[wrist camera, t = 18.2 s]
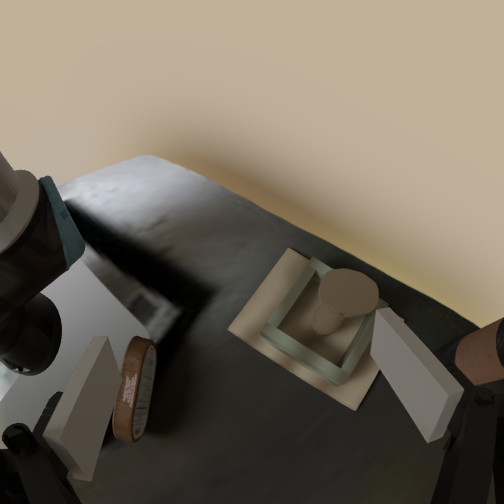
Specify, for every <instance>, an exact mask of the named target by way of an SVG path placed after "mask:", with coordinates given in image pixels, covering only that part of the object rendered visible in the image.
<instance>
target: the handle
mask: <svg viewBox="0 0 504 504" xmlns="http://www.w3.org/2000/svg"><path fill="white" fill-rule="evenodd" d="M318 296H319V300H320V303H321V304H320V305H319V306H318V308H317V309H316V311H315V313H314V315H313V318H312V325H311V330H313V331H314V332H315V333H316V334H317V336H319V337H322V336H324V335H329V334H331V333H333V332H335V331H336V330H338V329H339V328H340V327H341V326H342V325H343V323H344V322H345V321H346V319H347V318H354V317H360V316H364V315H368V314H370V313H371V312H372V311H373V310H374V309H375V307H376V305H377V303H378V298H379V292H378V287H377V285H376V283H375V282H374V281H373V280H371V279H370V278H369V277H367V276H366V275H365V274H363V273H361V272H358V271H354V270H350V269H335V270H330V271H328V272H326V273H325V275H324V276H323V278H322V280H321V282H320V285H319V290H318Z"/></svg>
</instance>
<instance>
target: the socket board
mask: <svg viewBox="0 0 504 504" xmlns="http://www.w3.org/2000/svg"><path fill="white" fill-rule="evenodd" d="M330 270H334V269H332V268H330V267H329V266H327V265H326V264H324V263H322V262H321V261H319V260H317V259H316V258H314V257H312V258H311V259H310V260H308V259H306V258H305V257H303V256H301V255H300V254H298V253H296V252H295V251H293V250H292V249H290V248H288V249H287V250H286V251H285V253H284V254H283V256H282V257H281V258H280V260H279V261H278V262H277V264H276V265H275V266H274V268H273V269H272V270H271V272H270V273H269V275H268V276H267V277H266V279H265V280H264V281H263V283H262V284H261V285H260V287H259V288H258V289H257V291H256V292H255V293H254V295H253V296H252V297H251V299H250V300H249V301H248V303H247V304H246V305H245V307H244V308H243V309H242V311H241V312H240V313H239V315H238V316H237V317H236V319H235V320H234V321H233V322H232V324H231V325H230V326H229V328H228V330H229V331H230V332H231V333H233V334H234V335H236V336H237V337H239V338H240V339H242V340H243V341H244V342H246V343H247V344H249V345H250V346H252V347H253V348H255V349H256V350H258V351H259V352H261V353H262V354H264V355H265V356H267V357H268V358H270V359H271V360H273V361H274V362H276V363H277V364H279V365H280V366H282V367H284V368H285V369H287V370H288V371H290V372H291V373H293V374H294V375H296V376H298V377H299V378H301V379H302V380H304V381H306V382H307V383H309V384H310V385H312V386H314V387H315V388H317V389H318V390H320V391H322V392H323V393H325V394H327V395H328V396H330V397H332V398H333V399H335V400H337V401H338V402H340V403H342V404H343V405H345V406H347V407H349V408H350V409H352V410H354V411H356V409H357V408H358V406H359V404H360V403H361V401H362V399H363V398H364V396H365V394H366V393H367V391H368V389H369V387H370V386H371V384H372V382H373V380H374V379H375V377H376V375H377V373H378V371H379V370H380V368H379V367H378V365H377V364H376V362H375V361H374V359H373V358H372V356H371V355H370V351H371V345H372V338H373V331H374V323H375V315H376V310H377V309H382V308H387V307H388V305H389V304H388V303H387V302H385V301H383V300H382V299H380V298H378V303H377V305H376V307H375V309H374V310H373V311H372V312H371V313H370V314H368V315H364V316H360V317H354V318H347V319H346V321H345V322H344V323H343V325H342V326H341V327H340V328H339V329H338V330H336V331H335V332H333V333H331V334H329V335H324V336H322V337H319V336H317V334H316V333H315V332H314V331H313V330H311V325H312V318H313V315H314V313H315V311H316V309H317V308H318V306H319V305H320V304H321V303H320V300H319V296H318V290H319V285H320V282H321V280H322V278H323V276H324V275H325V273H326V272H328V271H330ZM397 316H398V315H397ZM398 317H399V316H398ZM399 318H400V319H401V320H402V321H403V322H404V319H402V318H401V317H399Z"/></svg>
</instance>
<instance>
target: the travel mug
mask: <svg viewBox="0 0 504 504" xmlns="http://www.w3.org/2000/svg"><path fill="white" fill-rule="evenodd" d="M437 351H439V352H441V353H443V354H445V355H446V356H448V357H449V358H450V359H451V360H452V361H453V363H454V364H455V365H456V366H457V367H458V368H459V370H461V371H462V372H463V373H464V374H465V376H466V377H467V378H468V379H469V380H470V381H471V382H472V383H473V384H474V385H475V386H476V385H480V384H484V383H488V382H492V381H496V380H500V379H503V378H504V318H502V319H499V320H498V321H495V322H493V323H492V324H489V325H487V326H485V327H483V328H481V329H479V330H477V331H475V332H472V333H470V334H468V335H466V336H464V337H462V338H460V339H458V340H456V341H454V342H452V343H450V344H448V345H446V346H444V347H442V348H440V349H439V350H437Z"/></svg>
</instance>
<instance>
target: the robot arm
mask: <svg viewBox="0 0 504 504" xmlns="http://www.w3.org/2000/svg"><path fill="white" fill-rule="evenodd" d="M84 251H85V243H84V241H83V239H82V237H81V235H80V233H79V231H78V230H77V228H76V226H75V224H74V222H73V220H72V218H71V216H70V214H69V213H68V211H67V209H66V207H65V205H64V203H63V201H62V198H61V196H60V194H59V192H58V190H57V188H56V186H55V184H54V182H53V180H52V178H51V177H50V176H45V177H44V178H43V177H42V178H40V179H39V180H37V179H36V177H35V176H34V175H33V174H31V172H29V171H26V170H16V171H14V170H13V169H12V167H11V166H10V164H9V163H8V162H7V160H6V159H5V158H4V156H3V155H2V154H1V152H0V361H1V362H2V363H3V364H4V365H5V366H6V367H7V368H9V369H10V370H12V371H14V372H16V373H19V374H23V375H27V376H33V375H37V374H39V373H41V372H43V371H44V370H46V369H47V368H48V367H49V366H50V365H51V363H52V362H53V361H54V359H55V357H56V355H57V353H58V350H59V347H60V343H61V338H62V337H61V336H62V324H61V318H60V315H59V312H58V310H57V308H56V306H55V305H54V303H53V302H52V301H51V300H50V299H49V298H48V297H46V296H45V295H43V294H42V293H40V292H41V291H42V290H43V289H44V288H45V287H46V286H48V285H49V284H50V283H52V282H53V281H54V280H55V279H56V278H58V277H59V276H60V275H62V274H63V273H64V272H66V271H68V270H69V268H70V266H71V265H72V264H73V263H75V262H76V261H77V260H78V259H79V258H80V257H81V256H82V255H83V253H84ZM370 355H371V356H372V358H373V359H374V361H375V362H376V364H377V365H378V367H379V368H380V370H381V371H382V373H383V374H384V376H385V377H386V379H387V380H388V382H389V383H390V385H391V386H392V388H393V390H394V391H395V393H396V394H397V396H398V397H399V399H400V400H401V402H402V403H403V405H404V407H405V408H406V410H407V411H408V413H409V414H410V416H411V418H412V419H413V421H414V422H415V424H416V426H417V427H418V429H419V430H420V432H421V433H422V435H423V437H424V438H425V440H426V442H427V443H429V442H432V441H434V440H436V439H439V438H441V437H443V435H444V433H445V431H446V429H447V428H448V429H449V431H450V432H451V435H450V437H449V438H448V440H447V442H446V444H445V446H444V448H443V449H444V450H445V449H446V452H445V456H444V460H443V464H442V467H441V471H440V474H439V478H438V481H437V485H436V488H435V491H434V494H433V497H432V500H431V503H430V504H486V503H487V498H488V493H489V487H490V482H491V475H492V468H493V475H494V485H495V498H496V504H504V393H503V394H496V395H495V394H494V392H492V391H491V390H489V389H486V388H476V387H475V385H474V384H473V383H472V382H471V381H470V380H469V379H468V378H467V377H466V376H465V374H464V373H463V372H462V371H461V370H459V368H458V367H457V366H456V365H455V364H454V363H453V361H452V360H451V359H450V358H449V357H448V356H446V355H445V354H443V353H441V352H439V351H436V352H433V353H432V352H431V351H430V350H429V349H428V348H427V347H426V346H425V345H424V344H423V342H422V341H421V340H420V339H419V338H418V337H417V336H416V335H415V334H414V333H413V332H412V331H411V330H410V328H409V327H408V326H407V325H406V324H405V323H404V322H403V321H402V320H401V319H400V318H399V317H398V316H397V315H396V314H395V313H394V312H393V311H392V309H391V308H390V307H388V308H382V309H377V310H376V315H375V323H374V331H373V338H372V345H371V351H370ZM122 381H123V379H122V376H121V374H120V371H119V369H118V366H117V363H116V360H115V357H114V354H113V351H112V348H111V345H110V342H109V339H108V337H94V338H93V340H92V342H91V343H90V345H89V347H88V348H87V350H86V352H85V354H84V356H83V358H82V359H81V361H80V363H79V365H78V367H77V369H76V370H75V372H74V374H73V376H72V378H71V379H70V381H69V383H68V385H67V387H66V389H65V391H64V392H56V394H54V395H53V396H52V397H51V398H50V399H49V401H48V403H47V405H46V408H45V409H44V410H43V412H42V415H41V416H40V418H39V420H38V422H37V424H36V426H35V428H34V430H33V432H31V431H30V429H29V428H28V426H27V425H25V424H23V423H16V424H12V425H10V426H9V427H7V428H6V430H5V431H4V432H3V435H2V441H3V442H4V444H5V445H6V446H7V447H8V449H0V504H82V503H81V502H80V500H79V498H78V496H77V495H76V493H75V491H74V489H73V487H72V486H71V484H70V482H69V481H68V479H67V478H66V477H67V474H68V471H69V472H70V473H71V475H72V476H73V477H74V478H75V479H80V480H86V481H91V480H92V476H93V472H94V469H95V465H96V462H97V458H98V455H99V452H100V448H101V445H102V442H103V438H104V435H105V432H106V429H107V425H108V422H109V419H110V416H111V413H112V410H113V407H114V404H115V401H116V398H117V395H118V392H119V389H120V386H121V383H122ZM446 447H447V448H446Z"/></svg>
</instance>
